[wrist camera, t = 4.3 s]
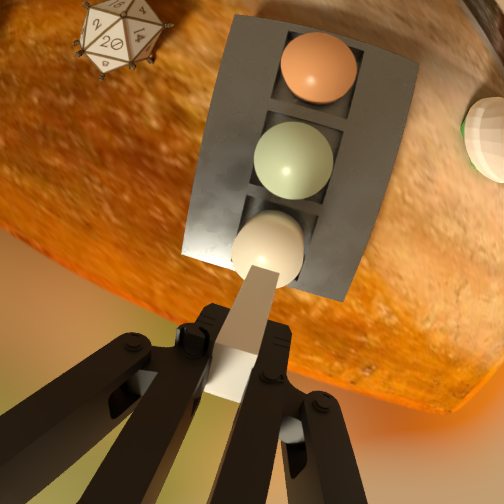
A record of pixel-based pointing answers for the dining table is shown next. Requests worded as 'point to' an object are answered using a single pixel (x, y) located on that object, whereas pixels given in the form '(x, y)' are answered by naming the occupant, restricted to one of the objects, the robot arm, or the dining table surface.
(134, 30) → the game die
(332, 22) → the dining table surface
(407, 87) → the panel
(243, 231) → the ivory button
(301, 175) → the sage button
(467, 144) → the cup
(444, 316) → the dining table surface
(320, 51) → the terracotta button
